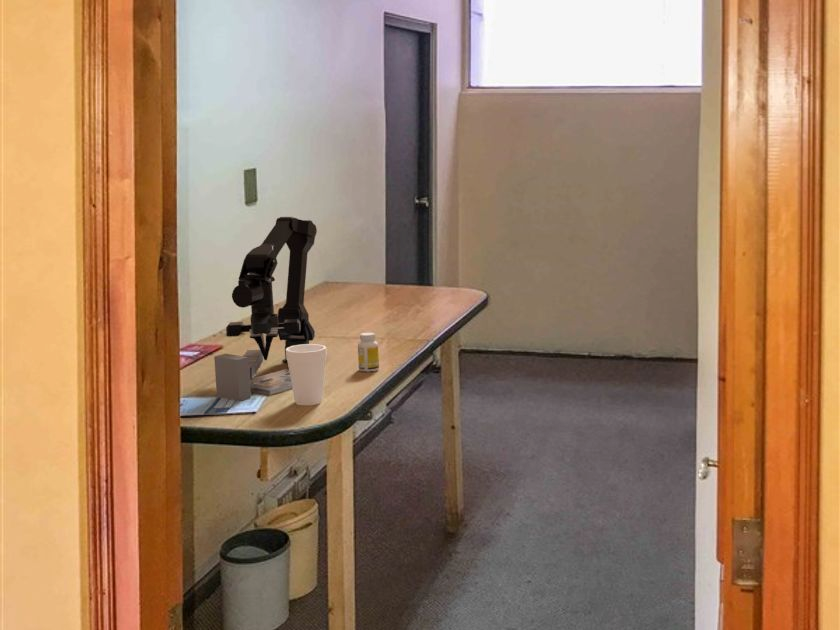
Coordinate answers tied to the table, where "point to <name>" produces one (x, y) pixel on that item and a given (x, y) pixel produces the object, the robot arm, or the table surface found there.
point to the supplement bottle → (368, 353)
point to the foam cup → (307, 372)
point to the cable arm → (253, 362)
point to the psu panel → (272, 383)
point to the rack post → (232, 376)
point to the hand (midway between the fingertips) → (265, 360)
